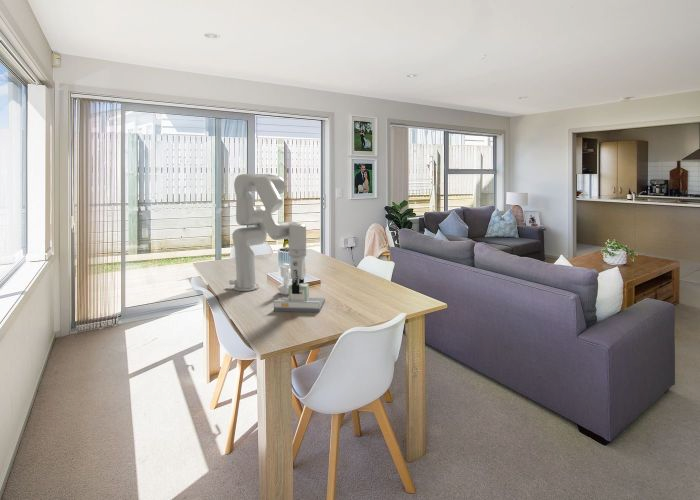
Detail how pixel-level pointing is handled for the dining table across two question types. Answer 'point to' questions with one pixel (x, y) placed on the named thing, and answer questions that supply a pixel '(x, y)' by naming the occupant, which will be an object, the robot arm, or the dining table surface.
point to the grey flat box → (299, 305)
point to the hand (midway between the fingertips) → (298, 290)
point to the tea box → (302, 294)
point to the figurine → (285, 279)
